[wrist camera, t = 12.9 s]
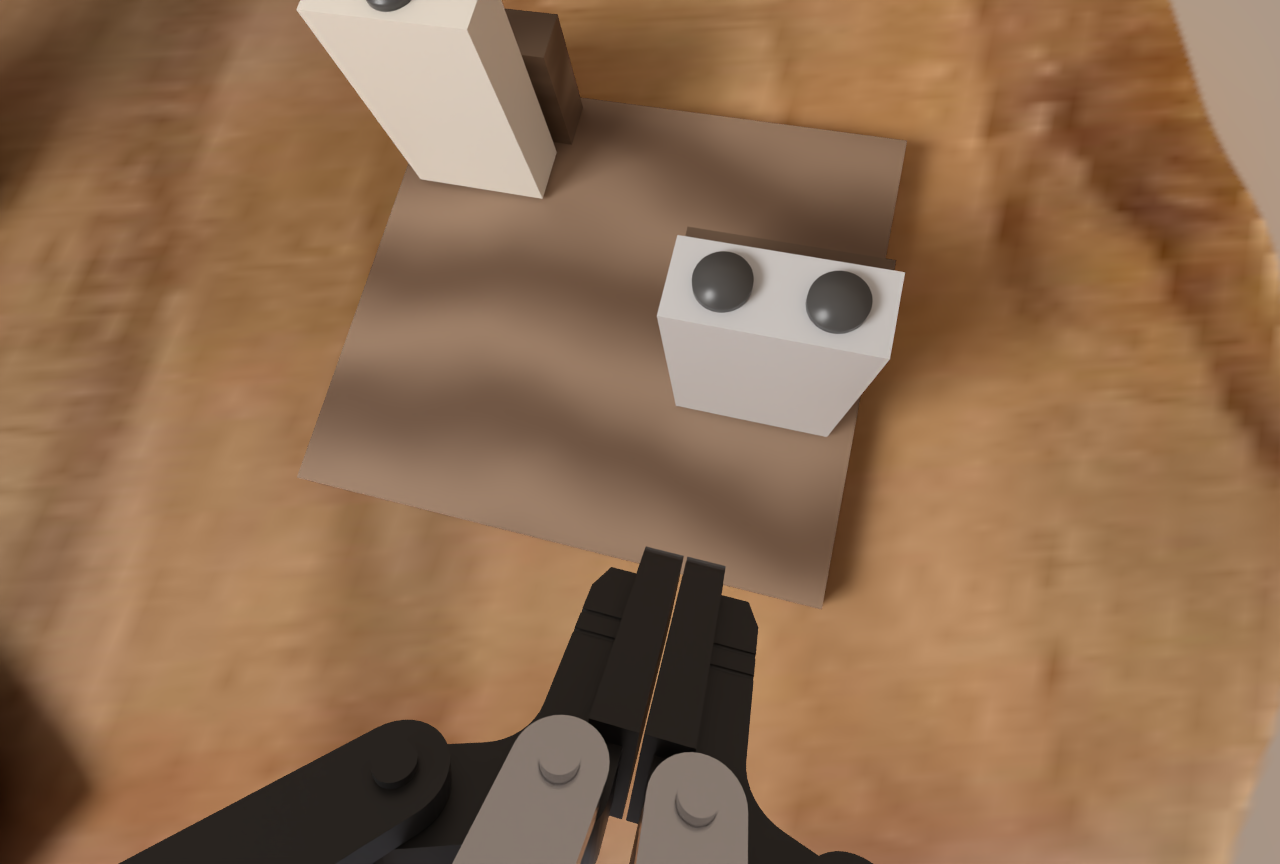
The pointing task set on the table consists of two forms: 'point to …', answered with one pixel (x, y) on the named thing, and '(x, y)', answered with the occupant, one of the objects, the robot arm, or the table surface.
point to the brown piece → (599, 338)
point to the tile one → (443, 87)
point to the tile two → (774, 332)
